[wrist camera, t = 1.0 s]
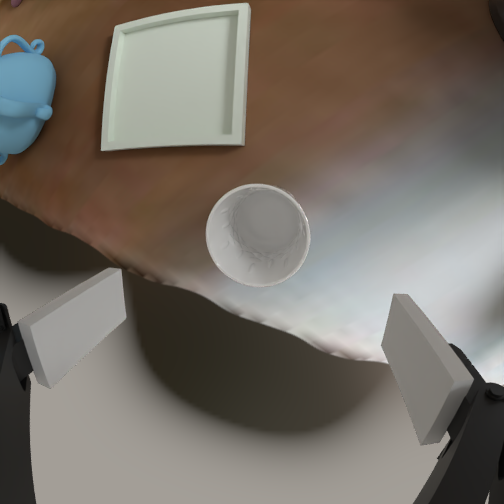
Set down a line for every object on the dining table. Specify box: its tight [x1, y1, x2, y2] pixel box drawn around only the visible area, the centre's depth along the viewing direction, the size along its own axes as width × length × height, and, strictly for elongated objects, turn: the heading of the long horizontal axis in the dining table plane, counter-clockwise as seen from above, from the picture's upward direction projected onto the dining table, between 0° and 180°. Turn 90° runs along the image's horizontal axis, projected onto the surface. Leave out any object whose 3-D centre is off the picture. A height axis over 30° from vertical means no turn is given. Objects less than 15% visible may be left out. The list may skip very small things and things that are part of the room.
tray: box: [101, 3, 251, 151], centre depth 28 cm, size 17×17×2 cm
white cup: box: [206, 184, 310, 287], centre depth 27 cm, size 8×8×10 cm
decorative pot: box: [0, 35, 56, 165], centre depth 26 cm, size 16×16×14 cm
